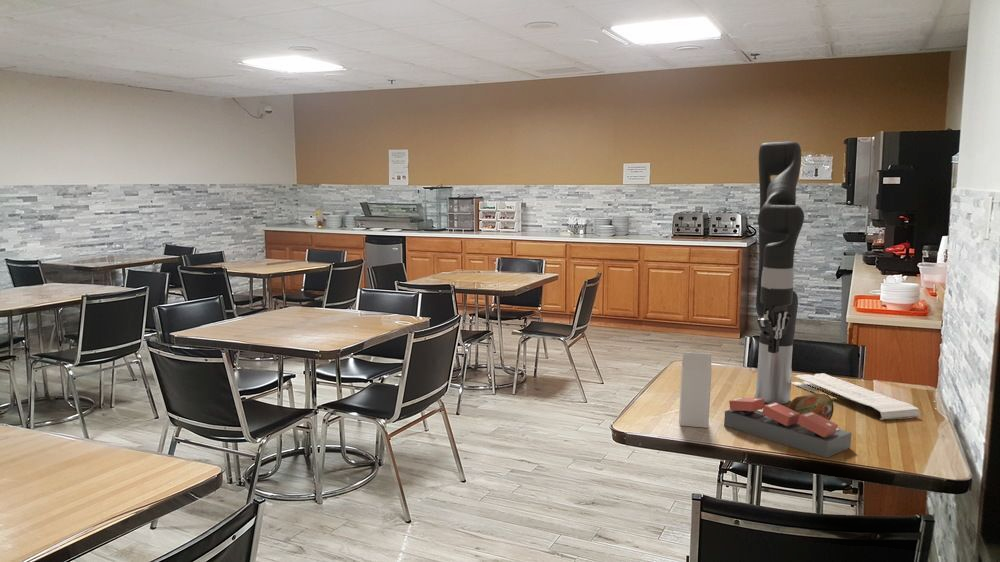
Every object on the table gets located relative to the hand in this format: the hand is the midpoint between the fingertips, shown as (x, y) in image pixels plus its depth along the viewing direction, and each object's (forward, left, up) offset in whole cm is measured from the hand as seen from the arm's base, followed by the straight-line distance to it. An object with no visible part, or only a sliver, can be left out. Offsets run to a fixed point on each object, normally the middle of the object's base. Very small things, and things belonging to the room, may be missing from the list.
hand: (773, 352), depth 184 cm
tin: (-14, +4, -21) cm, 25 cm away
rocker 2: (+2, +5, -15) cm, 16 cm away
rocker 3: (+2, +14, -15) cm, 21 cm away
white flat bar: (-47, -2, -22) cm, 52 cm away
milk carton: (+10, -15, -21) cm, 28 cm away
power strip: (0, +5, -21) cm, 21 cm away
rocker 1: (+2, -5, -15) cm, 16 cm away
